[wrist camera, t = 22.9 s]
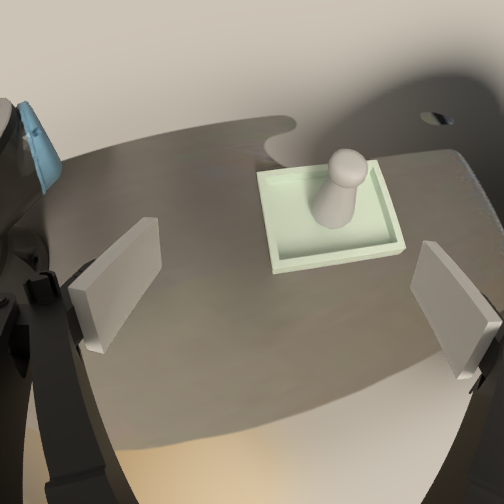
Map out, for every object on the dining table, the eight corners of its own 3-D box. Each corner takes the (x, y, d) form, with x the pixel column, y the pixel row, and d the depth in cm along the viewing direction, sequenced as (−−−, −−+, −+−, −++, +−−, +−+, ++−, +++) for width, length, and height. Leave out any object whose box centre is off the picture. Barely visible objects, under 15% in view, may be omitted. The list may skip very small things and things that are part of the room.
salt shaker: (340, 242, 41) (366, 195, 28) (302, 223, 42) (313, 170, 30) (355, 207, 42) (383, 154, 30) (319, 190, 43) (334, 131, 31)
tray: (272, 274, 40) (272, 269, 38) (257, 181, 45) (256, 172, 43) (399, 253, 40) (405, 248, 38) (372, 168, 45) (376, 159, 42)
